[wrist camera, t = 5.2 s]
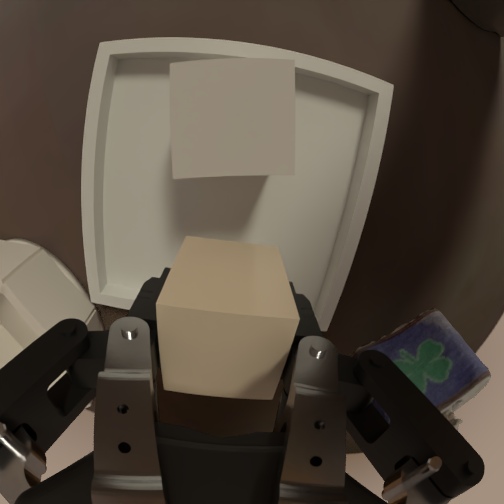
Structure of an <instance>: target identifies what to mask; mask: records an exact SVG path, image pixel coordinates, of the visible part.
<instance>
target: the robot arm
mask: <svg viewBox="0 0 504 504" xmlns="http://www.w3.org/2000/svg"><path fill="white" fill-rule="evenodd" d="M451 1H452V2H453V3H454V4H455V5H456V6H457V7H458V8H459V10H460V11H461V12H462V13H463V14H464V15H465V16H467V17H468V18H469V19H470V20H471V21H472V22H473V23H475V24H476V25H477V26H479V27H481V28H482V29H484V30H487V31H494V32H496V33H498V34H499V35H500V36H501V37H504V0H451ZM170 270H171V268H168V267H165V268H164V270H163V272H162V275H161V277H160V278H156V277H151V278H150V279H148V280H147V281H146V282H144V284H143V286H142V287H141V289H140V291H139V293H138V295H137V297H136V299H135V300H134V302H133V304H132V306H131V308H130V310H129V312H128V314H127V316H126V317H124V318H120V319H118V320H116V321H115V322H114V323H113V324H112V325H111V327H110V330H103V331H88V328H87V325H86V324H85V323H84V322H83V321H81V320H79V319H75V318H69V319H64V320H62V321H60V322H58V323H57V324H55V325H54V326H53V327H52V328H50V329H49V330H48V331H46V332H45V333H44V334H43V335H41V336H40V337H39V338H38V339H36V340H35V341H34V342H32V343H31V344H30V345H29V346H28V347H26V348H25V349H24V350H23V351H21V352H20V353H19V354H18V355H17V356H15V357H14V358H13V359H12V360H11V361H9V362H8V363H7V364H6V365H5V366H3V367H2V368H1V369H0V493H1V494H2V496H3V497H4V498H5V499H6V500H7V501H8V502H9V503H10V504H447V503H448V502H449V501H450V500H451V499H453V498H455V497H457V496H458V495H460V494H462V493H463V492H465V491H467V490H468V489H470V488H472V487H473V486H475V485H476V484H478V483H479V482H480V481H481V479H482V477H483V475H484V462H483V460H482V458H481V457H480V455H478V453H477V452H476V451H475V450H474V449H473V448H472V446H471V445H470V444H469V443H468V442H467V441H466V440H465V439H464V437H463V436H462V435H461V434H460V433H459V432H458V431H457V430H456V429H455V427H454V426H453V425H452V424H451V423H450V422H449V421H448V420H447V419H446V418H445V416H444V415H443V414H442V413H441V412H440V411H439V410H438V409H437V408H436V407H435V406H434V405H433V403H432V402H431V401H430V400H429V399H428V398H427V397H426V396H425V395H424V394H423V393H422V392H421V391H420V390H419V389H418V387H417V386H416V385H415V384H414V383H413V382H412V381H411V380H410V379H409V378H408V377H407V376H406V375H405V374H404V373H403V372H402V371H401V370H400V369H399V367H398V366H397V365H396V364H395V363H394V362H393V361H392V360H391V359H390V358H389V357H388V356H387V355H385V354H384V353H382V352H380V351H377V350H365V351H363V352H362V353H361V354H360V356H359V358H354V357H350V356H345V355H342V354H339V353H337V349H336V347H335V346H334V344H333V343H332V342H330V341H329V340H327V339H325V338H323V336H322V333H321V330H320V327H319V325H318V322H317V319H316V317H315V314H314V311H313V308H312V306H311V303H310V301H309V300H308V299H307V298H306V297H305V296H304V295H303V294H298V293H296V292H295V288H294V285H293V282H290V281H289V284H290V287H291V291H292V294H293V297H294V301H295V304H296V307H297V311H298V314H299V318H300V320H299V324H298V327H297V330H296V333H295V336H294V339H293V342H292V345H291V348H290V351H289V354H288V357H287V360H286V363H285V366H284V369H283V372H282V374H281V377H280V379H283V383H284V386H283V388H282V391H281V395H280V400H279V405H278V410H277V415H276V420H275V424H274V429H273V432H255V433H250V434H245V435H239V436H233V437H226V438H217V437H214V436H210V435H207V434H204V433H201V432H198V431H195V430H192V429H189V428H187V427H184V426H178V425H171V424H165V423H161V422H160V415H159V406H158V396H157V385H156V374H157V370H158V367H161V361H160V352H159V341H158V329H157V315H156V302H157V300H158V297H159V295H160V293H161V290H162V288H163V286H164V283H165V281H166V279H167V277H168V274H169V272H170ZM65 370H66V371H67V372H66V373H65V374H64V375H63V376H62V377H61V378H60V379H59V380H58V381H57V382H56V383H55V384H54V385H53V386H52V387H51V388H50V389H49V390H48V388H49V386H50V385H51V384H52V383H53V382H54V381H55V380H56V379H57V378H58V377H59V376H60V375H61V374H62V373H63V372H64V371H65ZM47 390H48V391H47ZM95 396H96V400H95V417H94V451H92V452H91V453H89V454H88V455H86V456H84V457H83V458H82V459H80V460H78V461H77V462H75V463H73V464H72V465H70V466H68V467H67V468H65V469H63V470H61V471H60V472H58V473H56V474H55V475H53V476H51V477H49V478H48V479H46V480H44V481H42V482H41V475H42V474H44V473H45V472H46V456H45V453H46V451H47V450H48V449H49V448H50V447H51V446H52V444H53V443H54V442H55V441H56V440H57V439H58V438H59V437H60V435H61V434H62V433H63V432H64V431H65V430H66V429H67V428H68V426H69V425H70V424H71V423H72V422H73V421H74V420H75V419H76V417H77V416H78V415H79V414H80V413H81V412H82V411H83V410H84V409H85V407H86V406H87V405H88V404H89V403H90V402H91V401H92V400H93V399H94V397H95ZM373 399H375V400H376V402H377V403H378V404H379V405H380V406H381V408H382V409H383V410H384V411H385V412H386V414H387V415H388V416H389V418H390V425H389V424H388V423H387V421H386V420H385V419H384V418H383V416H382V415H381V414H380V413H379V412H378V410H377V409H376V408H375V407H374V405H373V404H372V403H371V402H372V400H373ZM346 429H347V431H348V432H349V434H350V435H351V436H352V438H353V439H354V440H355V442H356V443H357V445H358V446H359V447H360V449H361V450H362V451H363V453H364V454H365V455H366V457H367V458H368V460H369V461H370V462H371V463H372V465H373V466H374V468H375V469H376V470H377V472H378V473H379V474H380V476H381V477H382V478H383V480H384V481H385V482H384V490H383V491H382V497H383V499H385V500H388V503H387V502H385V501H384V500H382V499H381V498H379V497H378V496H377V495H375V494H373V493H372V492H371V491H369V490H368V489H367V488H365V487H364V486H363V485H361V484H360V483H359V482H357V481H356V480H355V479H353V478H352V477H351V476H349V475H348V474H347V473H346V472H345V466H346Z"/></svg>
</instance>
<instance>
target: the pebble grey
mask: <svg viewBox="0 0 504 504" xmlns="http://www.w3.org/2000/svg"><path fill="white" fill-rule="evenodd" d="M170 135H171V156H172V173H173V179H182V178H198V177H219V176H255V175H294V176H295V60H290V59H272V58H224V59H207V60H195V61H185V62H176V63H170Z"/></svg>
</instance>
